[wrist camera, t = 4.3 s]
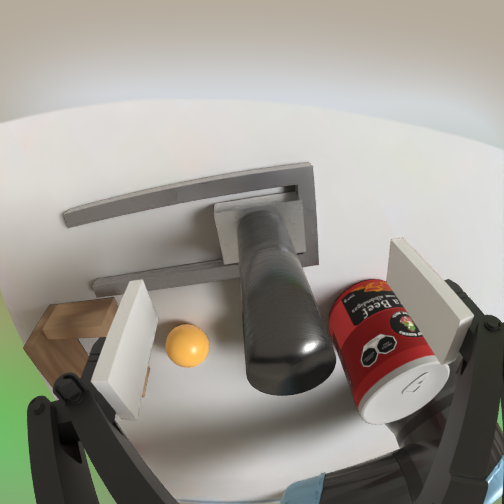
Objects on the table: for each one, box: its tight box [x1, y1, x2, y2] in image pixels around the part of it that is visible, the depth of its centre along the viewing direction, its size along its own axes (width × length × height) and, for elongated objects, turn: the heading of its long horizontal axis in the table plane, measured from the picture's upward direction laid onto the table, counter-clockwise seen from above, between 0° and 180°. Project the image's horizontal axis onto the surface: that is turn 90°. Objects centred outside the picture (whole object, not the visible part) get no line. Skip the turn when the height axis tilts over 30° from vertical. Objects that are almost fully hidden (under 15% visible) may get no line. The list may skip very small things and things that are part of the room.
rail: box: [63, 162, 319, 297], centre depth 23 cm, size 19×8×1 cm, turn 98°
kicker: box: [214, 191, 336, 396], centre depth 19 cm, size 6×14×14 cm, turn 8°
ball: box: [165, 324, 209, 368], centre depth 26 cm, size 4×4×4 cm
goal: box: [23, 297, 150, 397], centre depth 25 cm, size 8×10×6 cm
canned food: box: [329, 279, 450, 424], centre depth 24 cm, size 8×8×11 cm
